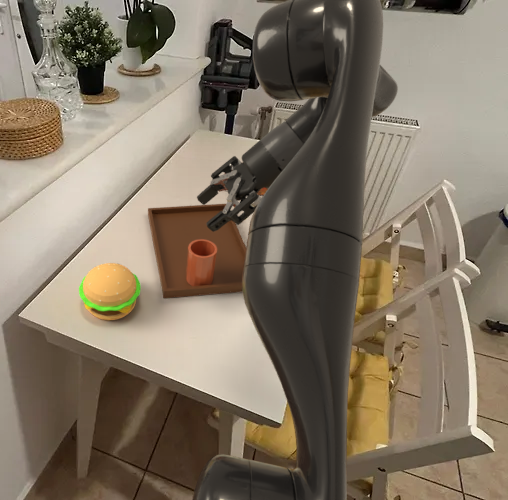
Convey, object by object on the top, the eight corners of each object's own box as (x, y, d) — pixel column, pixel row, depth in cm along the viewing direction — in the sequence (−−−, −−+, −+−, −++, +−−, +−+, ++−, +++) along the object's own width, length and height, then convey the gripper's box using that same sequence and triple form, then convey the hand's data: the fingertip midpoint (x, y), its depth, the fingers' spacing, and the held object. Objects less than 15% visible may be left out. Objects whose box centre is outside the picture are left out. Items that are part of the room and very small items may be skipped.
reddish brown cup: (215, 287, 90) (220, 256, 84) (188, 289, 89) (191, 258, 84) (209, 268, 94) (213, 238, 89) (183, 270, 94) (186, 240, 88)
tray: (260, 290, 90) (262, 283, 89) (163, 298, 88) (163, 291, 87) (225, 210, 113) (226, 203, 111) (147, 214, 110) (147, 208, 109)
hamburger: (144, 285, 91) (144, 254, 85) (136, 329, 82) (135, 298, 76) (88, 280, 92) (85, 249, 86) (74, 323, 83) (69, 292, 77)
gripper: (251, 123, 77) (184, 182, 83) (278, 162, 66) (199, 226, 72) (274, 149, 81) (208, 204, 87) (303, 189, 70) (226, 248, 76)
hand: (204, 214), depth 79 cm, fingers open, 8 cm apart
